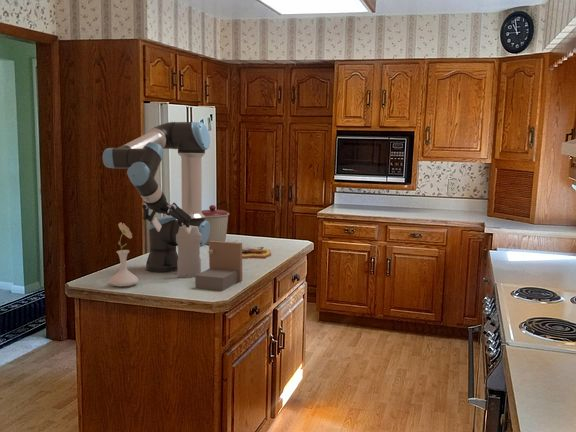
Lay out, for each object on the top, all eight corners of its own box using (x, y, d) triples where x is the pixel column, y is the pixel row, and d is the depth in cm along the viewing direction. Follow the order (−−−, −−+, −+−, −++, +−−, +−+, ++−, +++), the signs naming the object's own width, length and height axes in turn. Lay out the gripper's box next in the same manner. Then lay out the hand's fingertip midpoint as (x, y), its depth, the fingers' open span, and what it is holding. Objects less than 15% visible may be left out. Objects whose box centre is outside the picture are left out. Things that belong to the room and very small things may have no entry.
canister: (230, 240, 336) (229, 203, 333) (229, 246, 318) (229, 207, 315) (197, 240, 335) (196, 203, 332) (195, 246, 317) (194, 207, 314)
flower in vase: (140, 287, 236) (138, 224, 232) (110, 290, 232) (107, 226, 228) (136, 279, 248) (134, 219, 244) (107, 281, 244) (105, 221, 240)
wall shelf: (193, 287, 236) (192, 247, 234) (211, 278, 251) (211, 240, 249) (225, 290, 231) (225, 250, 229) (242, 281, 246) (242, 242, 244)
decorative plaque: (205, 244, 289) (215, 236, 309) (205, 258, 290) (215, 250, 310) (267, 245, 286) (273, 238, 305) (267, 260, 287) (273, 252, 306)
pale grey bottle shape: (177, 278, 250) (175, 226, 247) (176, 276, 254) (175, 224, 251) (202, 277, 253) (201, 225, 249) (201, 274, 257) (200, 224, 253)
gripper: (120, 202, 225) (144, 235, 241) (179, 205, 217) (199, 239, 233) (128, 187, 230) (150, 220, 246) (186, 189, 221) (205, 224, 237)
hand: (174, 230), depth 239 cm, fingers open, 13 cm apart
